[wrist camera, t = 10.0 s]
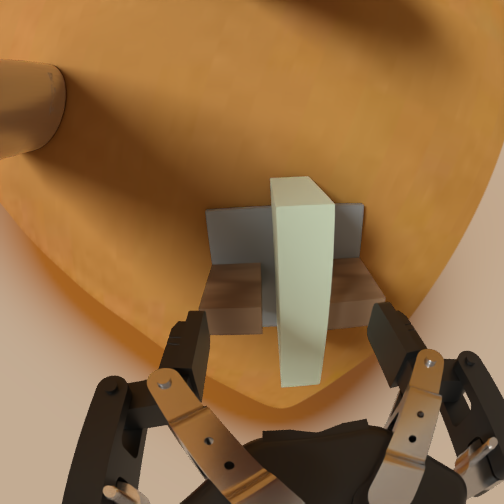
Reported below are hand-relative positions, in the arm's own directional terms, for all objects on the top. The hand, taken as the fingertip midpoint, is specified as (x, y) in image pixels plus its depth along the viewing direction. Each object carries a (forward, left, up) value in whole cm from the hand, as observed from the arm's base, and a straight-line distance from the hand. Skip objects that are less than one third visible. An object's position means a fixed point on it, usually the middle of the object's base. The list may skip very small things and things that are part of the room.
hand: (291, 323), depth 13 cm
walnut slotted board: (+1, -4, -12) cm, 13 cm away
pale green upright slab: (+1, -2, -11) cm, 12 cm away
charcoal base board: (+1, -4, -12) cm, 13 cm away
